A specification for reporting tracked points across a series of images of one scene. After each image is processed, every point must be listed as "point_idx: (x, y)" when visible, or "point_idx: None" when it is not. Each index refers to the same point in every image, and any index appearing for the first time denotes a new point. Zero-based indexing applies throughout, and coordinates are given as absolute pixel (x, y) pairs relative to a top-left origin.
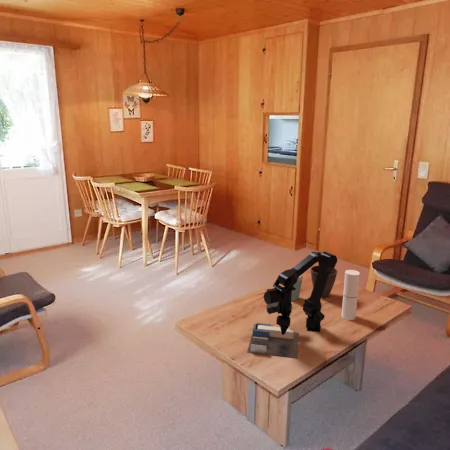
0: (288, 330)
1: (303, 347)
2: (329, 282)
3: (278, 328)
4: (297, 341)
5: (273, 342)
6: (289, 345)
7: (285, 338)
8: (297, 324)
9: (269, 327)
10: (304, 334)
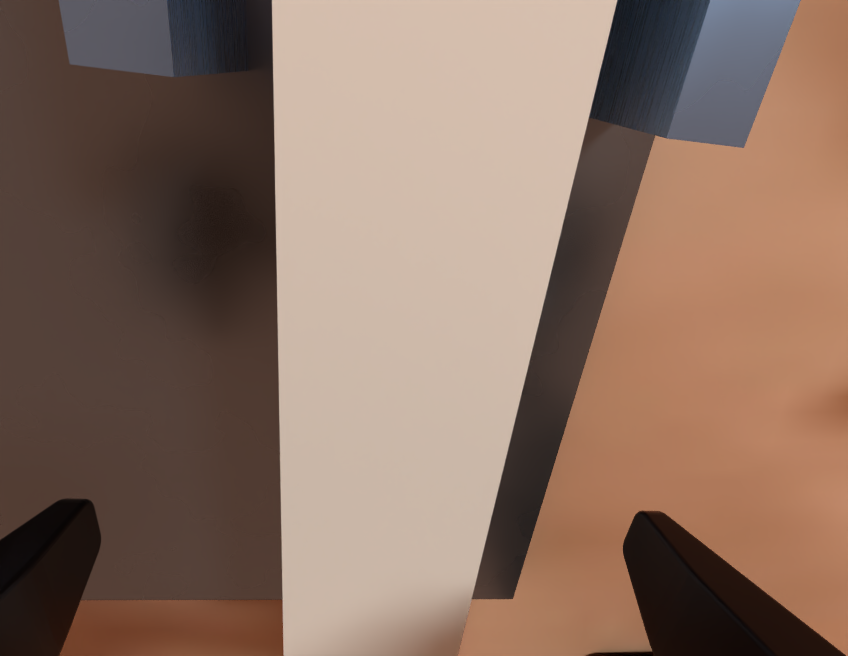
0: (349, 608)
1: (130, 632)
2: None
3: (430, 399)
4: (240, 590)
5: (23, 185)
6: (50, 496)
7: None
8: (786, 561)
9: (485, 73)
10: (497, 632)
